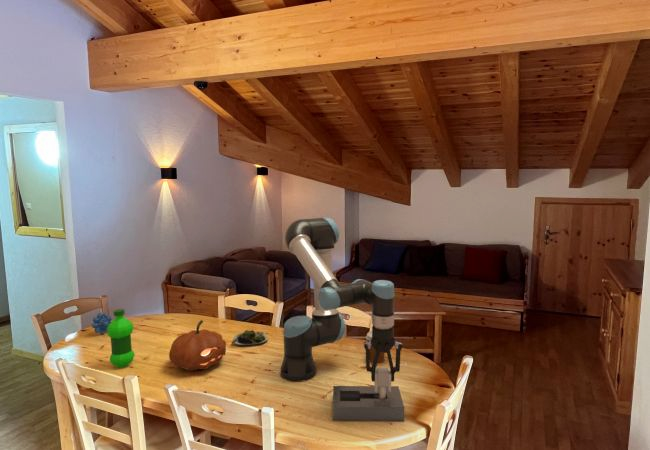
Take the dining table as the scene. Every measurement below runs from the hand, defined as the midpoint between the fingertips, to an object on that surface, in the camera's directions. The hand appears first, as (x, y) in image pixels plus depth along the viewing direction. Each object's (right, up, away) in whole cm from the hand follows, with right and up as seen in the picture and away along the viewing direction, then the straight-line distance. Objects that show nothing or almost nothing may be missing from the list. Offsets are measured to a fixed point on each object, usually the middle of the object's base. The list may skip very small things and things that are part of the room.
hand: (382, 389), depth 146 cm
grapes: (-138, -1, +75) cm, 157 cm away
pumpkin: (-76, -4, +38) cm, 85 cm away
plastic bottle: (-110, -4, +38) cm, 117 cm away
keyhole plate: (-5, -7, +1) cm, 9 cm away
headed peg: (0, -7, +1) cm, 7 cm away
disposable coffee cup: (+3, -3, +40) cm, 41 cm away
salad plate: (-58, -1, +64) cm, 87 cm away
